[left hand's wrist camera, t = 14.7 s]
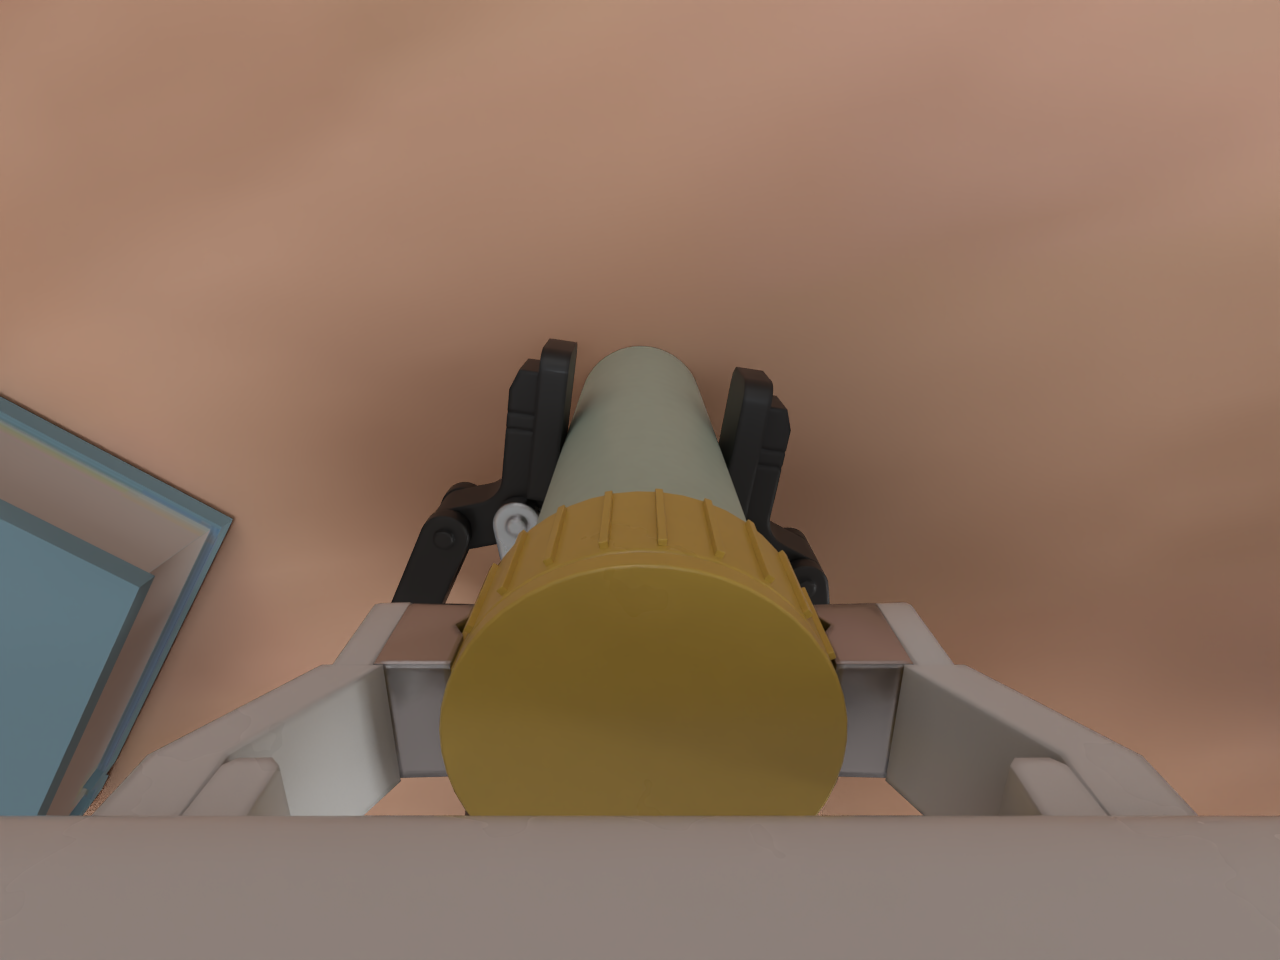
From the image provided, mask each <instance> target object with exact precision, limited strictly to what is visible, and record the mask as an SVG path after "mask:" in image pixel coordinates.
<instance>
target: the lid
mask: <svg viewBox="0 0 1280 960" xmlns="http://www.w3.org/2000/svg"><path fill="white" fill-rule="evenodd" d="M462 634H463V639H464V640H463V643H462V645H461V647H460V649H459V652H458V654H457V656H456V659H455V661H454V663H453V665H452V668H451V675H450V677H449V679H448V682H447V684H446V688H445V692H444V696H443V700H442V704H441V711H440V724H439V733H440V745H441V753H442V757H443V761H444V765H445V769H446V773H447V775H448V777H449V780H450V782H451V784H452V787H453V789H454V792H455V793H456V795H457V797H458V798H459V800H460V802H461V803H462V805H463V807H464V808H465V810H466V811H467V813H468V814H469V815H470V816H817V814H818V813H819V811H820V810H821V809H822V807H823V806H824V804H825V803H826V801H827V800H828V798H829V796H830V794H831V792H832V790H833V788H834V786H835V784H836V782H837V779H838V776H839V773H840V770H841V767H842V764H843V761H844V755H845V749H846V743H847V712H846V705H845V699H844V694H843V691H842V688H841V685H840V682H839V679H838V676H837V673H836V671H835V669H834V666H833V664H832V662H831V660H832V659H835V658H836V655H835V653H834V650H833V648H832V646H831V644H830V642H829V639H828V637H827V635H826V633H825V631H824V628H823V626H822V624H821V622H820V620H819V617H818V615H817V613H816V611H815V609H814V606H813V604H812V602H811V600H810V598H809V595H808V593H807V591H806V589H805V587H803V588H801V586H800V584H799V582H798V580H797V577H796V575H795V573H794V571H793V568H792V566H791V564H790V562H789V559H788V557H787V555H786V554H785V552H784V551H783V550H781V551H780V552H778V551H777V550H776V549H775V548H774V547H773V546H772V545H771V544H770V543H769V542H768V541H767V540H766V539H765V538H764V537H763V535H761V534H760V533H759V532H758V531H757V530H756V527H755V525H754V523H753V522H752V521H750V520H749V519H748V520H747V521H746V522H745V521H743V520H741V519H740V518H738V517H736V516H735V515H733V514H731V513H729V512H728V511H726V510H724V509H721V508H719V507H717V506H714V505H713V504H712V500H709V499H706V498H705V499H704V501H701V500H697V499H694V498H690V497H687V496H683V495H677V494H670V493H664V492H663V489H655V492H644V491H635V492H624V493H613V491H606V492H605V494H604V496H600V497H595V498H591V499H588V500H585V501H582V502H579V503H577V504H574V505H571V506H569V507H567V508H566V506H565V505H562V506H560V507H558V509H557V512H556V513H555V514H553V515H551V516H549V517H547V518H546V519H545V520H543V521H542V522H540V523H539V524H537V525H536V526H534V527H533V528H531V529H530V530H529V531H528V532H526V531H525V530H522V531H521V532H520V533H519V534H518V537H517V539H516V542H515V544H514V545H513V547H512V548H511V549H510V550H509V551H508V553H507V554H506V555H505V556H504V557H503V559H502V560H501V562H500V563H499V565H497V564H495V563H493V564H492V566H491V568H490V570H489V572H488V574H487V577H486V579H485V581H484V584H483V586H482V588H481V591H480V593H479V595H478V598H477V600H476V602H475V604H474V607H473V609H472V611H471V614H470V616H469V618H468V621H467V623H466V625H465V628H464V630H463V633H462Z"/></svg>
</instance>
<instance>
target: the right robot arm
mask: <svg viewBox="0 0 1280 960" xmlns="http://www.w3.org/2000/svg"><path fill="white" fill-rule="evenodd" d="M576 355H577V342H570V341H564V340H557V339H549V340H548V342H547V343H546V344H545V346H544V347H543V350H542V353H541V359H540V360H535V359H528V360H527V361H526V362H525V364H524V365H523V366H522V367H521V369H520V370H519V372H518V374H517V376H516V377H515V379H514V381H513V383H512V385H511V387H510V389H509V400H508V414H507V425H506V426H507V428H506V437H505V449H504V461H503V473H502V479H500V480H499V481H496V482H494V483H490V484H485V485H480V486H477V485H475V484H473V483H469V482H461V483H457V484H455V485H453V486H452V487H451V488H450V489H449V490H448V492H447V493H446V495H445V496H444V498H443V500H442V502H441V504H440V506H439V508H438V509H437V510H436V512H435V513H433V514H432V515H431V516H430V517H429V518H428V520H427V521H426V523H425V524H424V526H423V527H422V529H421V532H420V534H419V537H418V539H417V542H416V544H415V546H414V549H413V551H412V554H411V556H410V559H409V561H408V563H407V566H406V568H405V571H404V573H403V575H402V578H401V580H400V583H399V585H398V588H397V590H396V592H395V595H394V597H393V600H392V602H391V603H404V602H410V603H412V604H413V603H441V604H445V603H446V600H447V598H448V596H449V594H450V591H451V589H452V587H453V585H454V582H455V580H456V578H457V576H458V573H459V571H460V569H461V567H462V564H463V562H464V560H465V558H466V555H467V553H468V551H469V549H472V548H478V547H483V546H488V545H494V544H497V546H498V551H499V555H500V559H501V560H502V559H503V557H504V556H505V555H506V554H507V553H508V551H509V550H510V549H511V548H512V547H513V545H514V544H515V542H516V539H517V537H518V534H519V533H520V532H521V531H522V530H525V531H526V532H528V531H529V530H530V529H531V528H533V527H534V526H536V524H537V521H538V518H539V515H540V512H541V509H542V506H543V503H544V500H545V497H546V494H547V491H548V488H549V486H550V483H551V480H552V477H553V474H554V471H555V468H556V465H557V462H558V459H559V456H560V453H561V450H562V447H563V445H564V442H565V439H566V436H567V433H568V424H569V415H570V407H571V398H572V389H573V381H574V372H575V364H576ZM790 431H791V429H790V423H789V417H788V411H787V409H786V407H785V406H784V405H783V404H782V402H781V401H780V400H779V398H778V397H777V396H774V395H773V384H772V381H771V380H770V379H769V378H768V377H767V375H766V374H765V373H764V372H763V371H760V370H753V369H747V368H740V367H736V368H735V370H734V372H733V376H732V380H731V384H730V389H729V394H728V399H727V404H726V409H725V414H724V419H723V424H722V429H721V434H720V439H719V447H720V449H721V452H722V455H723V458H724V460H725V463H726V466H727V469H728V472H729V474H730V477H731V480H732V483H733V485H734V488H735V491H736V494H737V496H738V499H739V502H740V505H741V508H742V510H743V513H744V516H745V519H746V521H747V520H748V519H749V520H750V521H752V522H753V523H754V525H755V527H756V530H757V531H758V532H759V533H760V534H761V535H763V537H764V538H765V539H766V540H767V541H768V542H769V543H770V544H771V545H772V546H773V547H774V548H775V549H776V550H777V551H778V552H780V551H781V550H783V551H784V552H785V554H786V555H787V557H788V559H789V562H790V564H791V566H792V568H793V571H794V573H795V575H796V577H797V580H798V582H799V584H800V586H801V588H803V587H805V589H806V591H807V593H808V595H809V598H810V600H811V602H812V604H813V605H824V604H830V602H829V587H828V580H827V578H826V576H825V574H824V572H823V570H822V568H821V566H820V564H819V562H818V560H817V559H816V557H815V555H814V553H813V551H812V549H811V547H810V545H809V543H808V541H807V540H806V538H805V536H804V535H803V533H802V532H800V531H799V530H797V529H794V528H782V527H781V526H779V525H777V524H775V523H773V522H771V521H770V515H771V511H772V507H773V503H774V499H775V494H776V490H777V486H778V482H779V477H780V473H781V467H782V465H783V461H784V456H785V451H786V448H787V444H788V439H789V435H790ZM465 816H470V815H469V814H468V813H467V811H466V810H465Z"/></svg>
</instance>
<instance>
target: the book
mask: <svg viewBox="0 0 1280 960" xmlns="http://www.w3.org/2000/svg"><path fill="white" fill-rule="evenodd" d="M232 520H233V519H232V518H230V517H228V516H226V515H224V514H222V513H220V512H219V511H217V510H215V509H213V508H211V507H209V506H207V505H205V504H203V503H201V502H200V501H198V500H196V499H194V498H192V497H190V496H188V495H186V494H184V493H182V492H181V491H179V490H177V489H175V488H173V487H171V486H169V485H167V484H165V483H163V482H162V481H160V480H158V479H156V478H154V477H152V476H150V475H148V474H146V473H145V472H143V471H141V470H139V469H137V468H135V467H133V466H131V465H129V464H127V463H126V462H124V461H122V460H120V459H118V458H116V457H114V456H112V455H110V454H108V453H107V452H105V451H103V450H101V449H99V448H97V447H95V446H93V445H91V444H89V443H88V442H86V441H84V440H82V439H80V438H78V437H76V436H74V435H72V434H71V433H69V432H67V431H65V430H63V429H61V428H59V427H57V426H55V425H53V424H52V423H50V422H48V421H46V420H44V419H42V418H40V417H38V416H36V415H34V414H33V413H31V412H29V411H27V410H25V409H23V408H21V407H19V406H17V405H15V404H14V403H12V402H10V401H8V400H6V399H4V398H2V397H0V816H83V814H84V813H85V812H86V810H87V809H88V807H89V806H90V805H91V803H92V802H93V801H94V799H95V798H96V796H97V795H98V794H99V792H100V791H101V790H102V788H103V786H104V784H105V782H106V780H107V778H108V776H109V775H107V772H108V771H109V770H110V768H111V767H112V765H113V764H114V763H115V761H116V759H117V757H118V755H119V753H120V751H121V749H122V747H123V745H124V743H125V741H126V739H127V736H128V734H129V732H130V730H131V728H132V726H133V724H134V722H135V720H136V718H137V716H138V714H139V712H140V710H141V708H142V706H143V704H144V701H145V699H146V697H147V695H148V693H149V691H150V689H151V687H152V685H153V683H154V681H155V679H156V677H157V675H158V673H159V671H160V668H161V666H162V664H163V662H164V660H165V658H166V656H167V654H168V652H169V650H170V648H171V646H172V644H173V642H174V640H175V638H176V636H177V633H178V631H179V629H180V627H181V625H182V623H183V621H184V619H185V617H186V615H187V613H188V611H189V609H190V607H191V605H192V603H193V601H194V598H195V596H196V594H197V592H198V590H199V588H200V586H201V584H202V582H203V580H204V578H205V576H206V574H207V572H208V570H209V568H210V566H211V563H212V561H213V559H214V557H215V555H216V553H217V551H218V549H219V547H220V545H221V543H222V541H223V539H224V537H225V535H226V533H227V531H228V528H229V526H230V524H231V522H232Z"/></svg>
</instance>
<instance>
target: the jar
mask: <svg viewBox="0 0 1280 960" xmlns="http://www.w3.org/2000/svg"><path fill="white" fill-rule="evenodd" d="M655 489H663V492H664V493H670V494H677V495H683V496H687V497H690V498H694V499H697V500H701V501H704V499H705V498H706V499H709V500H712V504H713V505H714V506H717V507H719V508H721V509H724V510H726V511H728V512H729V513H731V514H733V515H735V516H736V517H738V518H740V519H741V520H743V521H745V522H746V519H745V516H744V513H743V510H742V508H741V505H740V502H739V499H738V496H737V494H736V491H735V488H734V485H733V483H732V480H731V477H730V474H729V472H728V469H727V466H726V463H725V460H724V458H723V455H722V452H721V449H720V447H719V444H718V441H717V438H716V436H715V433H714V430H713V427H712V425H711V422H710V419H709V416H708V413H707V411H706V408H705V405H704V402H703V400H702V397H701V394H700V391H699V389H698V386H697V383H696V381H695V379H694V377H693V375H692V374H691V372H690V371H689V369H688V368H687V367H686V366H685V365H684V364H683V363H682V362H681V361H680V360H679V359H677V358H676V357H675V356H673V355H671V354H670V353H668V352H666V351H663V350H661V349H657V348H654V347H647V346H634V347H627V348H624V349H620V350H618V351H615V352H613V353H611V354H610V355H608V356H606V357H605V358H604V359H602V360H601V361H600V362H599V363H598V364H597V365H596V366H595V367H594V368H593V370H592V371H591V372H590V374H589V375H588V377H587V379H586V381H585V384H584V386H583V389H582V392H581V395H580V398H579V401H578V404H577V407H576V409H575V412H574V415H573V418H572V421H571V424H570V427H569V430H568V433H567V436H566V439H565V442H564V445H563V447H562V450H561V453H560V456H559V459H558V462H557V465H556V468H555V471H554V474H553V477H552V480H551V483H550V486H549V488H548V491H547V494H546V497H545V500H544V503H543V506H542V509H541V512H540V515H539V518H538V521H537V524H539V523H540V522H542V521H543V520H545V519H546V518H547V517H549V516H551V515H553V514H555V513H556V512H557V509H558V507H560V506H562V505H565V506H566V508H567V507H569V506H571V505H574V504H577V503H579V502H582V501H585V500H588V499H591V498H595V497H600V496H604V494H605V492H606V491H613V493H624V492H635V491H644V492H655ZM537 524H536V525H537Z"/></svg>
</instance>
